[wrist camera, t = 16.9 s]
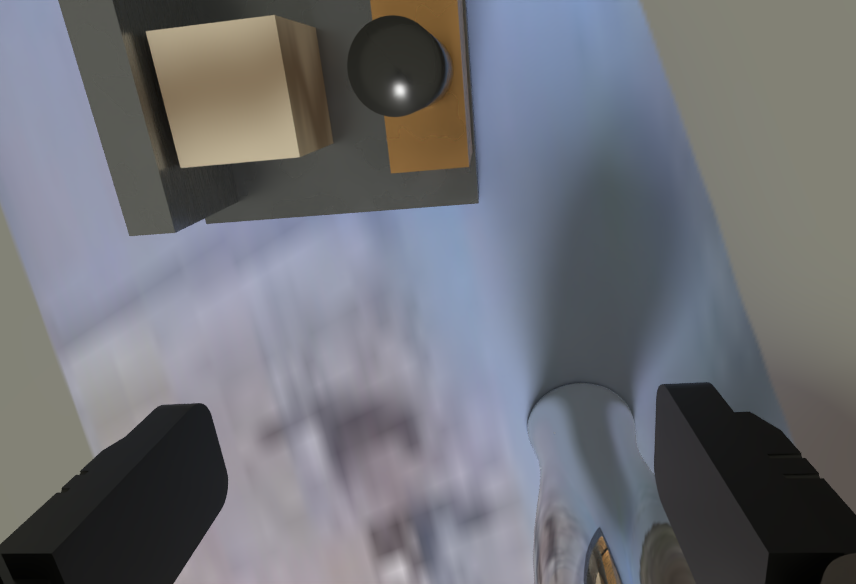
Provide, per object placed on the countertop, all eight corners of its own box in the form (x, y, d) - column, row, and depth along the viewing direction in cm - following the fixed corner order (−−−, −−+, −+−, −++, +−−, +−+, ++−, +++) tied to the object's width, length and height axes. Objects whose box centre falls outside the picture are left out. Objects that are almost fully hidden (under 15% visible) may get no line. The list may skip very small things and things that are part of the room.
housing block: (333, 143, 26) (299, 157, 21) (234, 152, 26) (180, 168, 22) (315, 27, 24) (274, 14, 19) (209, 40, 25) (145, 31, 20)
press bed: (478, 196, 27) (475, 236, 21) (219, 217, 29) (136, 259, 22) (460, -81, 23) (449, -149, 16) (159, -37, 25) (33, -82, 18)
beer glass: (646, 374, 30) (782, 626, 16) (636, 475, 33) (747, 769, 19) (519, 375, 31) (546, 615, 17) (519, 473, 33) (542, 753, 20)
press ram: (472, 150, 25) (462, 199, 15) (408, 156, 25) (355, 207, 15) (461, -21, 23) (439, -104, 12) (390, -12, 23) (313, -86, 13)
